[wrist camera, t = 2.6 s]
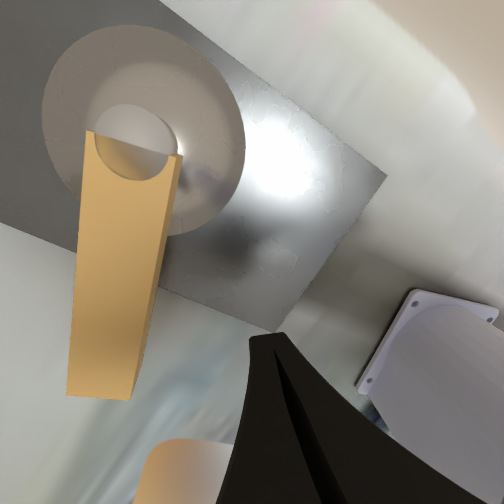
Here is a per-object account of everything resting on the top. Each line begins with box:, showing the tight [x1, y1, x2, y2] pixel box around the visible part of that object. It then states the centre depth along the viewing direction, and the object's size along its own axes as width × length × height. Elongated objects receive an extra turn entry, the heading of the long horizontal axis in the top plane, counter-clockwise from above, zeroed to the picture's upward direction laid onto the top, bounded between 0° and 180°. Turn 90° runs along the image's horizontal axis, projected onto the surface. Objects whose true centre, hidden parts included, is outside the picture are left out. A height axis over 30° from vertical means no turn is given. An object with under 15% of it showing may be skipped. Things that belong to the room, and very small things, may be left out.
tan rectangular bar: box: [66, 104, 183, 400], centre depth 10 cm, size 11×2×2 cm, turn 163°
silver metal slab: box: [0, 0, 388, 333], centre depth 11 cm, size 20×11×3 cm, turn 59°
